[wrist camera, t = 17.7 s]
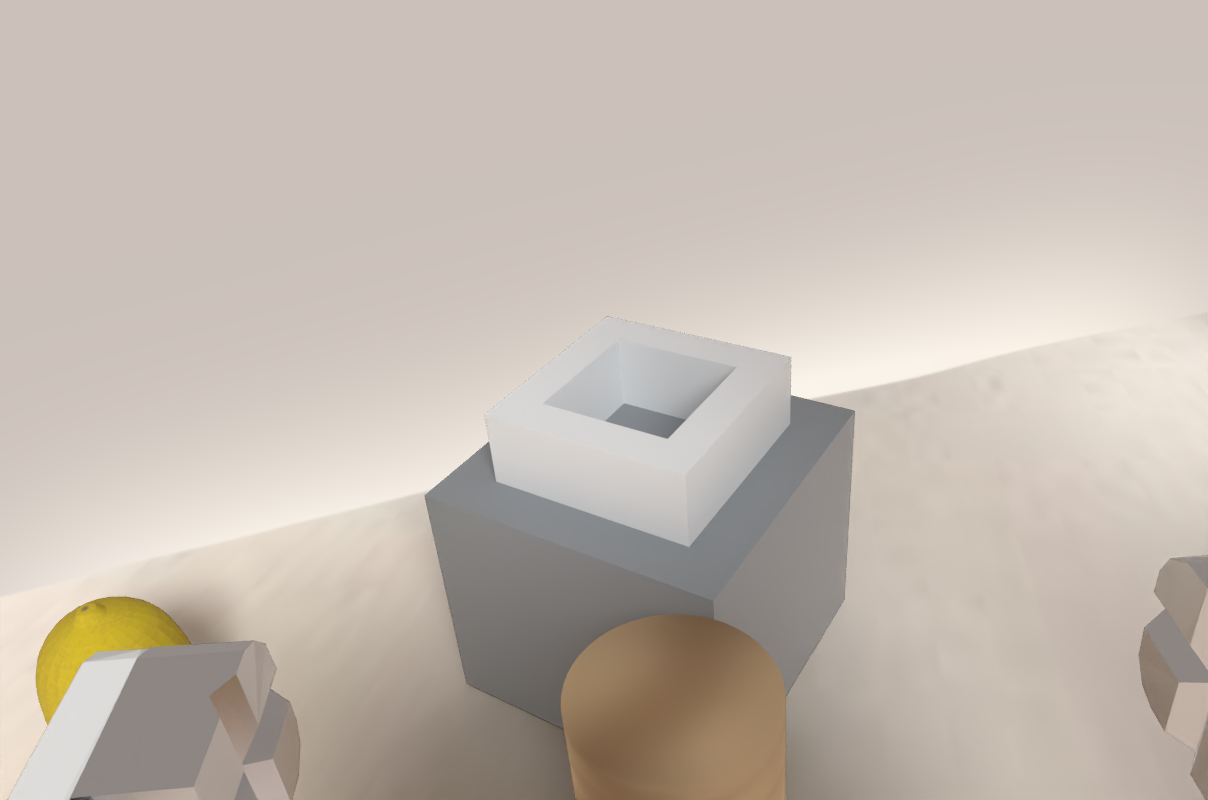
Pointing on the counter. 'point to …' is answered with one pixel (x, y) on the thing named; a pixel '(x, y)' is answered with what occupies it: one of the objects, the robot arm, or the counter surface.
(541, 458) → the grey box with opening
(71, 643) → the lemon
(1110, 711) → the counter surface
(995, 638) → the counter surface
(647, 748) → the stopper
